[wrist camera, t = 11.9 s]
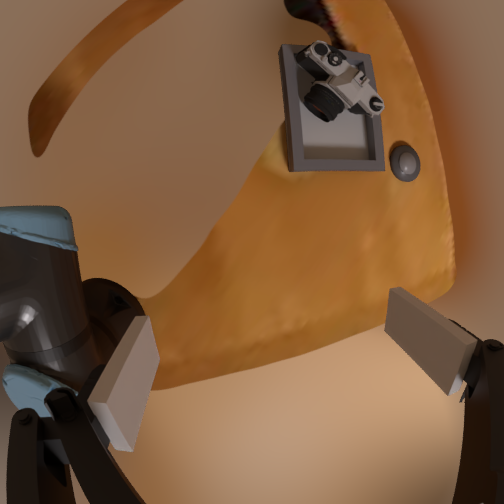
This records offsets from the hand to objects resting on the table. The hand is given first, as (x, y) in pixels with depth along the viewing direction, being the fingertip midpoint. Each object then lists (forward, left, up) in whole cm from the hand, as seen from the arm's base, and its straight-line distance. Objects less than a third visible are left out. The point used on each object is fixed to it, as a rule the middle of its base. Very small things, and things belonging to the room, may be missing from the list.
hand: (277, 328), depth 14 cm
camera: (+13, +20, -25) cm, 35 cm away
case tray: (+14, +18, -27) cm, 35 cm away
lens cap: (+27, +10, -27) cm, 40 cm away
